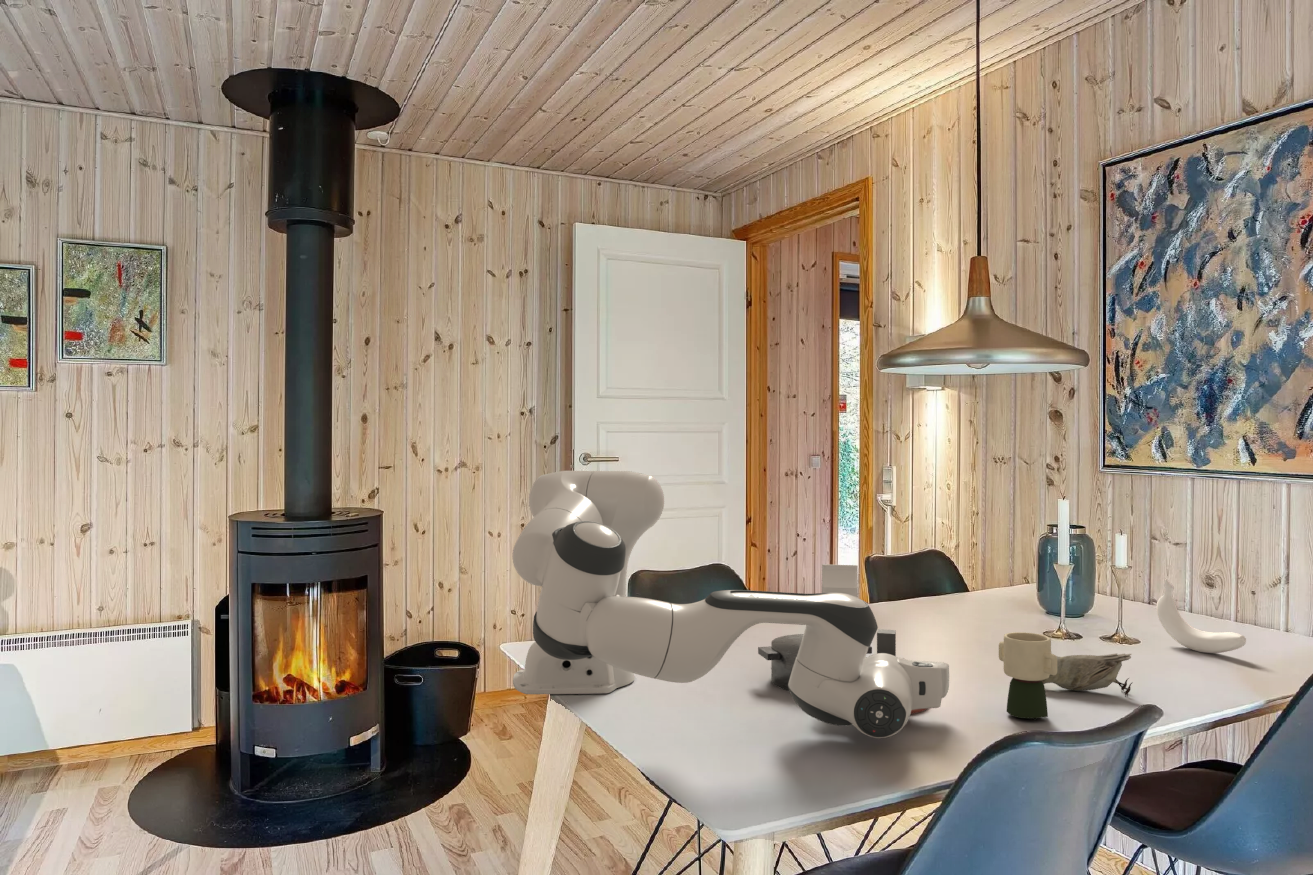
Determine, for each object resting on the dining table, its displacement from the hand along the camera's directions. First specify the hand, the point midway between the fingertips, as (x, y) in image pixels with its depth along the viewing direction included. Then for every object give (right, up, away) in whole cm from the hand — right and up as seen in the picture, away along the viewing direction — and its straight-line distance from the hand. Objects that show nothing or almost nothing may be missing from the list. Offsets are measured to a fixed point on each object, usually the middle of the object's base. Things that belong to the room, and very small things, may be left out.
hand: (886, 661), depth 152 cm
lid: (0, -7, -1) cm, 7 cm away
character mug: (+20, -7, -9) cm, 23 cm away
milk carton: (-2, -7, +29) cm, 29 cm away
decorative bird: (+36, -7, +5) cm, 37 cm away
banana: (+74, -7, +32) cm, 81 cm away
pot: (-10, -7, +11) cm, 17 cm away
